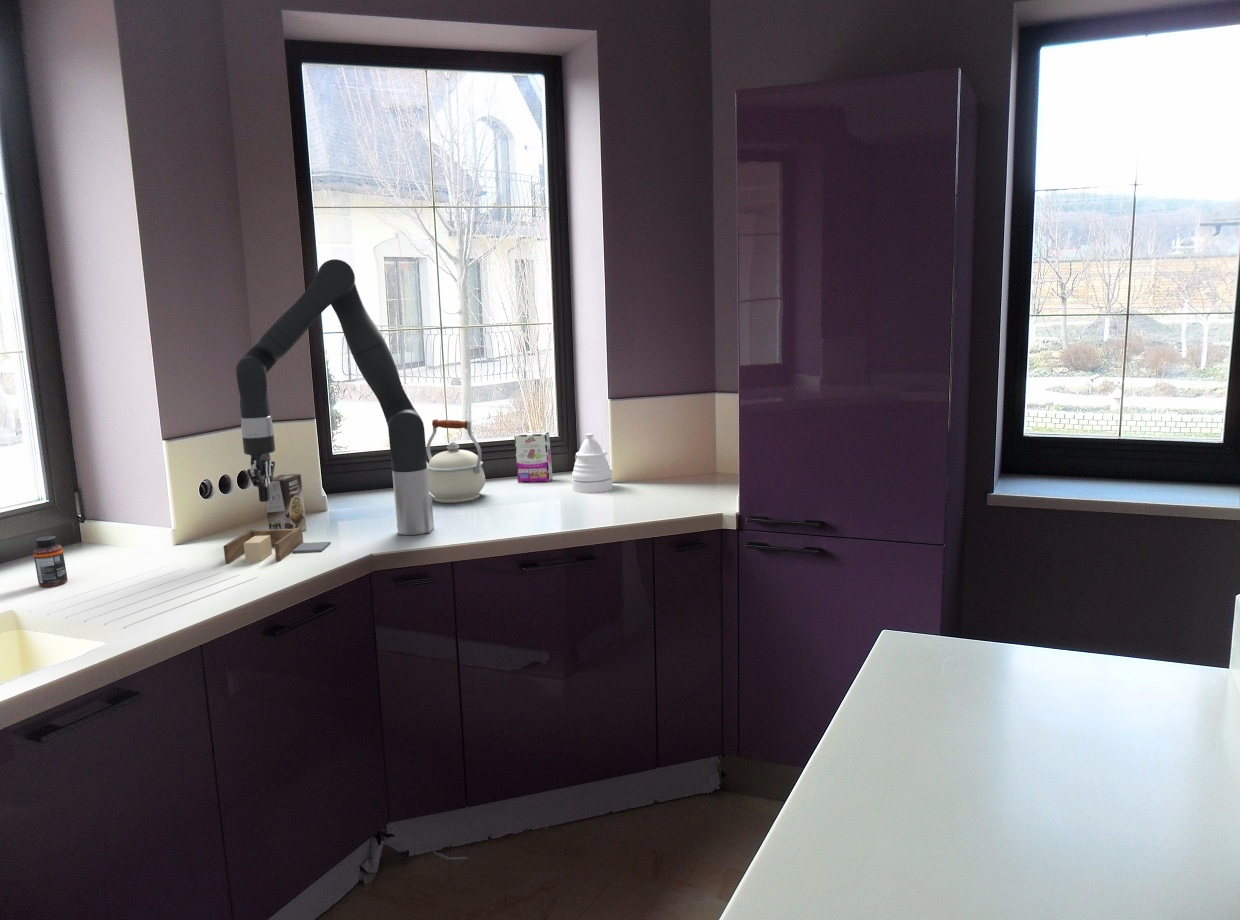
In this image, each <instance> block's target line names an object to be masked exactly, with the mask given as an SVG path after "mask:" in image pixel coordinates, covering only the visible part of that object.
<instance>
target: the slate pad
mask: <svg viewBox="0 0 1240 920" xmlns="http://www.w3.org/2000/svg"><path fill="white" fill-rule="evenodd" d="M331 544H332V543H331V541H318V542H313V541H312V542H303V543H301V544H300V545H299V546H298V547H296V548H295V549H294V550H292V552H291V554H297V553H298V554H300V553H302V554H303V553H319V552H321V553H322V552H323V551H325V549H327V548H328V547H329V546H330V545H331Z"/></svg>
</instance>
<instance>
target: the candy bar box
mask: <svg viewBox="0 0 1240 920" xmlns="http://www.w3.org/2000/svg"><path fill="white" fill-rule="evenodd" d="M550 438H551V437H550V432H548V431H547V432H546V431H544V432H521V433H520V432H519V433H516V434H515V435H514V445H515V461H516V473H517V474H516V475H517V483H521V484H522V483H526V484H527V483H550V482H551V481H552V480H553V467H552V455H551V454H552V453H551V452H552V451H551V440H550Z"/></svg>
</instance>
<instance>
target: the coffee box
mask: <svg viewBox="0 0 1240 920" xmlns="http://www.w3.org/2000/svg"><path fill="white" fill-rule="evenodd" d="M302 483H303V482H302V475H301V474H300V473H295V474H293V473H292V474H291V473H290V474H279V475H277V476H273V479H272V482H270V486H269V493H270V500H269V501H267V502H265V505H266V506H265V507H266V515H267V526H268V530H279V529H295V528H302V533H303V532H305V531H307V528H308V527H307V521H306V512H305V502H304V493H303V484H302Z"/></svg>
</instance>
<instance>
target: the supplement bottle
mask: <svg viewBox="0 0 1240 920" xmlns="http://www.w3.org/2000/svg"><path fill="white" fill-rule="evenodd" d="M35 543H36V547H35V548H34V550H33V559H34V563H35V569H36V570H35V571H36V576H37V577H36V578H37V582H38V586H39V587H41V588H53V587H52V586H54V587H57V586H61V584H62V585H64V584H65V583H66V582H68V573H67V568H66V567H67V566H66V561H65V555H64V549H63V546H62V545H61V544H58V542H57V537H56V536H55V535H47V536H41V537H38V538H36V539H35Z"/></svg>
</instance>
